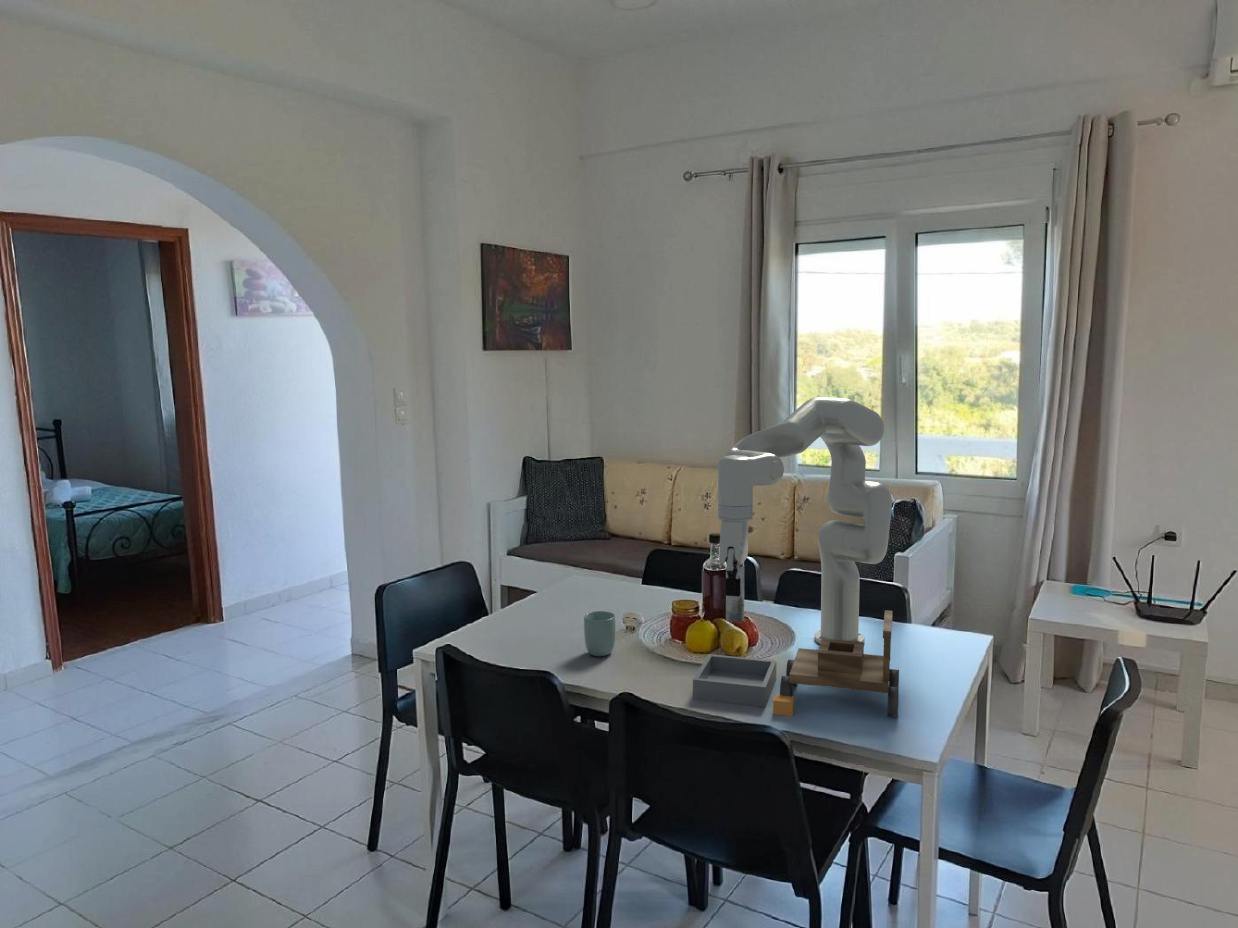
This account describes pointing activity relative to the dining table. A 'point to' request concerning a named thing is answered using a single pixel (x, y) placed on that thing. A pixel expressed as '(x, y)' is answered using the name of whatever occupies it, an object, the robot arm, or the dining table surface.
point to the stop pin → (736, 602)
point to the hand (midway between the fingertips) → (735, 591)
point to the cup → (599, 632)
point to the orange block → (783, 705)
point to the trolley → (845, 668)
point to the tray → (735, 680)
